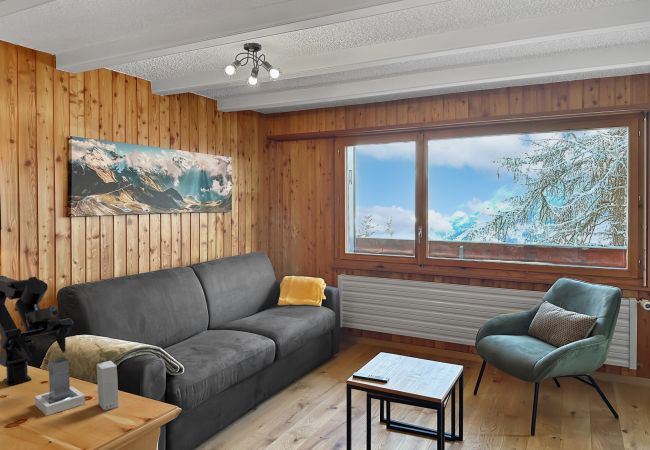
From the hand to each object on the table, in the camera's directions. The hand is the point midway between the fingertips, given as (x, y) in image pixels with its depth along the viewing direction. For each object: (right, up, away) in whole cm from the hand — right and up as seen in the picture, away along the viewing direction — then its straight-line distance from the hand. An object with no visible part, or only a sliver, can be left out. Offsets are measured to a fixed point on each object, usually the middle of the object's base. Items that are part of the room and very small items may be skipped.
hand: (48, 355), depth 136 cm
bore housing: (+5, -13, -3) cm, 15 cm away
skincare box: (+20, -14, -4) cm, 24 cm away
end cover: (+5, -13, -3) cm, 15 cm away
